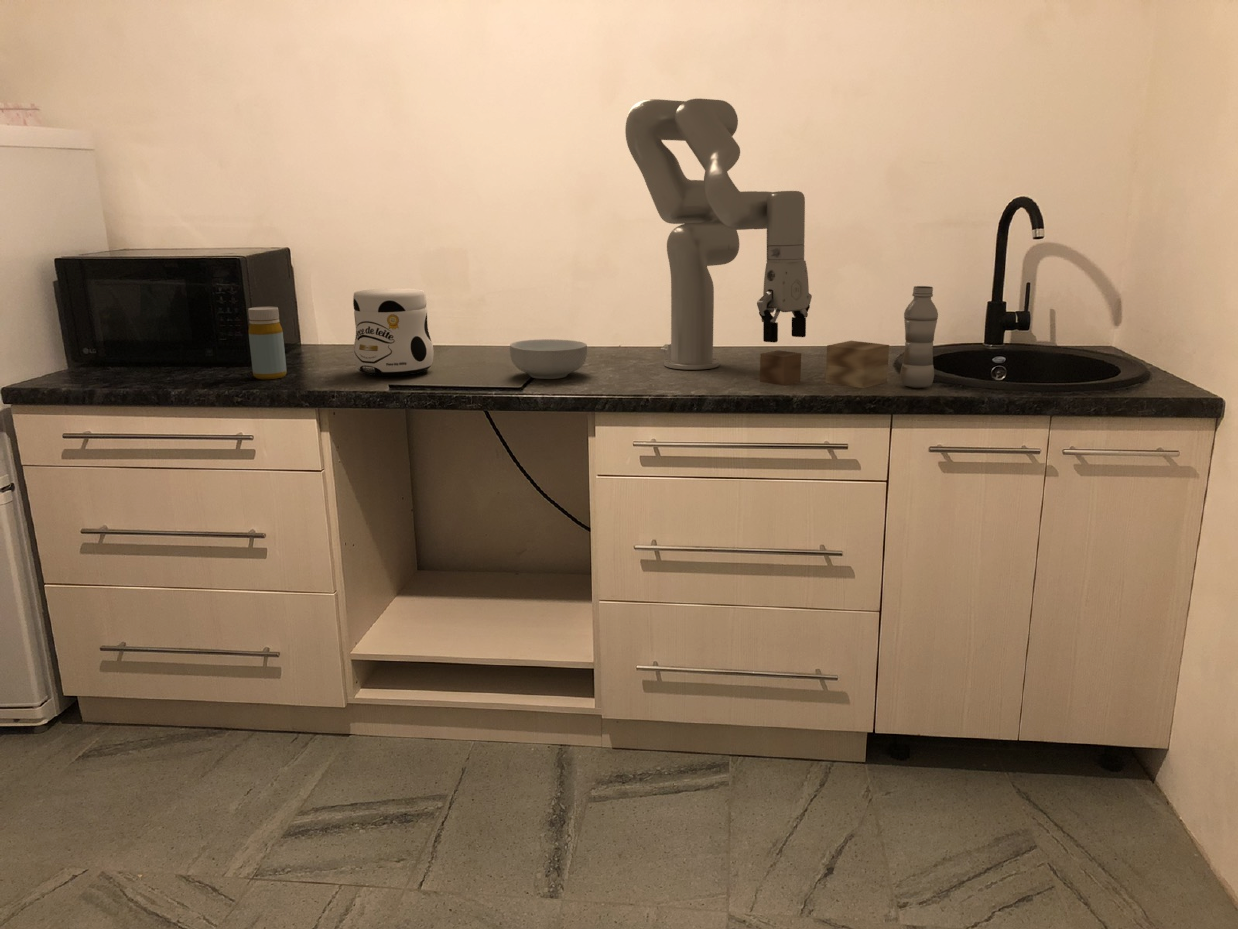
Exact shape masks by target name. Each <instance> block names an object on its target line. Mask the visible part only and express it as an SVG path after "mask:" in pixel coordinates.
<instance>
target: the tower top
mask: <svg viewBox="0 0 1238 929" xmlns="http://www.w3.org/2000/svg"><path fill="white" fill-rule="evenodd" d="M889 352H890V344H884V343H875V342H866V341H857V340H848V341H847V340H846V341H842V342H837V343H832V344H828V345H826V364H825V365H832V366H839V367H847V368H854V369H861V370H866V369H870V368H874V367H878V366H883V365H887V364H888V365H889V354H890V353H889Z"/></svg>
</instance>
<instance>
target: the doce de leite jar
mask: <svg viewBox="0 0 1238 929" xmlns="http://www.w3.org/2000/svg"><path fill="white" fill-rule="evenodd" d="M352 296H353V298H352V299H353V300H352V303H353V304H352V305H353V309H354V313H353V314H354V323H355V324H354V325H355V337H354V338H355V339H354V342H353V343H354V344H353V349H352V350H353V351H352V354H353V360H354V365H355V367H356V369H357V370H359V371H360V372H361V373H363V374H366V375H371V376H378V377H398V376H399V377H400V376H408V375H416V374H419V373H421V372H424V371H427V370H428V369H429V368H431V366H432V365H433V362H434V353H435V352H434V346H433V342H432V338H431V336H430V332H429V325H428V309H427V298H426V293H425V290H424V289H420V288H419V289H418V288H403V287H402V288H398V287H397V288H375V289H367V290H358V291H355V292H353V295H352Z"/></svg>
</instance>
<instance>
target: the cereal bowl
mask: <svg viewBox="0 0 1238 929" xmlns="http://www.w3.org/2000/svg"><path fill="white" fill-rule="evenodd" d="M587 355H588V344H587V343H585V342H584V341H580V340H572V339H571V340H570V339H549V338H548V339H528V340H519V341H515V342H512V343H510V345H509V356H510V359H511V362H512V363H513V365H514V366H515V367H516V368H517V369H518V370H520V371H521V372H523V373H526V374H528V375H529V376H530V377H531V378H533V379H539V380H555V379H562V378H566V377H567V376H568V375H569V374H572V373H574V372H575V371H578V370H579V369H581V367H583V365H584V364H585V362H586V360H587Z"/></svg>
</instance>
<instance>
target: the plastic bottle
mask: <svg viewBox="0 0 1238 929" xmlns="http://www.w3.org/2000/svg"><path fill="white" fill-rule="evenodd" d="M933 290H934V287H933V286H928V285H917V286H913V290H912V291H913V292H912V295H911V296H912V297H913V299H912V300H911V302H910V303H909V304H908V305H907V306H906V308H905V310H904V314H903V318H904V330H905V331H904V333H905V335H904V339H905V342H904V354H903V360H902V365H901V367H900V373H899V375H900V376H899V378H900V382H901V383H902V385H903V386H905V387H908V388H909V387H910V388H912V389H921V388H928V387H931V385H932V384H933V382H934V377H935V368H934V367H935V366H934V353H933V352H934V351H933V350H934V347H933V346H934V339H935V332H936V328H937V323H938V318H939V312H938V309H937V307H936V305H935V303H934V302H933V300H932V298H933V296H934V294H933V293H934V292H933Z"/></svg>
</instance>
